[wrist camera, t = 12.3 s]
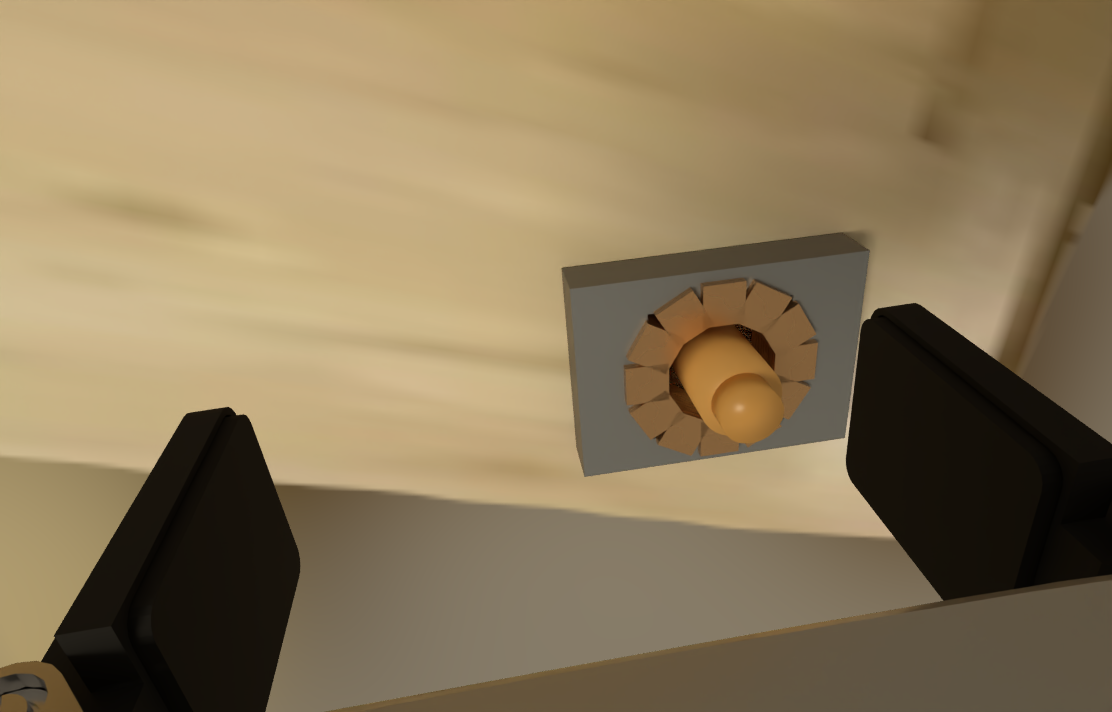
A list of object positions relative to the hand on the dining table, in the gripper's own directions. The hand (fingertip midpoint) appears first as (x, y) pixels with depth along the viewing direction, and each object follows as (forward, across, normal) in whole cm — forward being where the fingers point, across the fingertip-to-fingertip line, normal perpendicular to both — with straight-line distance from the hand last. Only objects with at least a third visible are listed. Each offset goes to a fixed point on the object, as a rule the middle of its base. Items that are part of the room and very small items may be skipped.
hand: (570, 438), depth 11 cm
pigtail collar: (+28, -11, +15) cm, 33 cm away
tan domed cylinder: (+28, -11, +15) cm, 33 cm away
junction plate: (+28, -11, +15) cm, 33 cm away
